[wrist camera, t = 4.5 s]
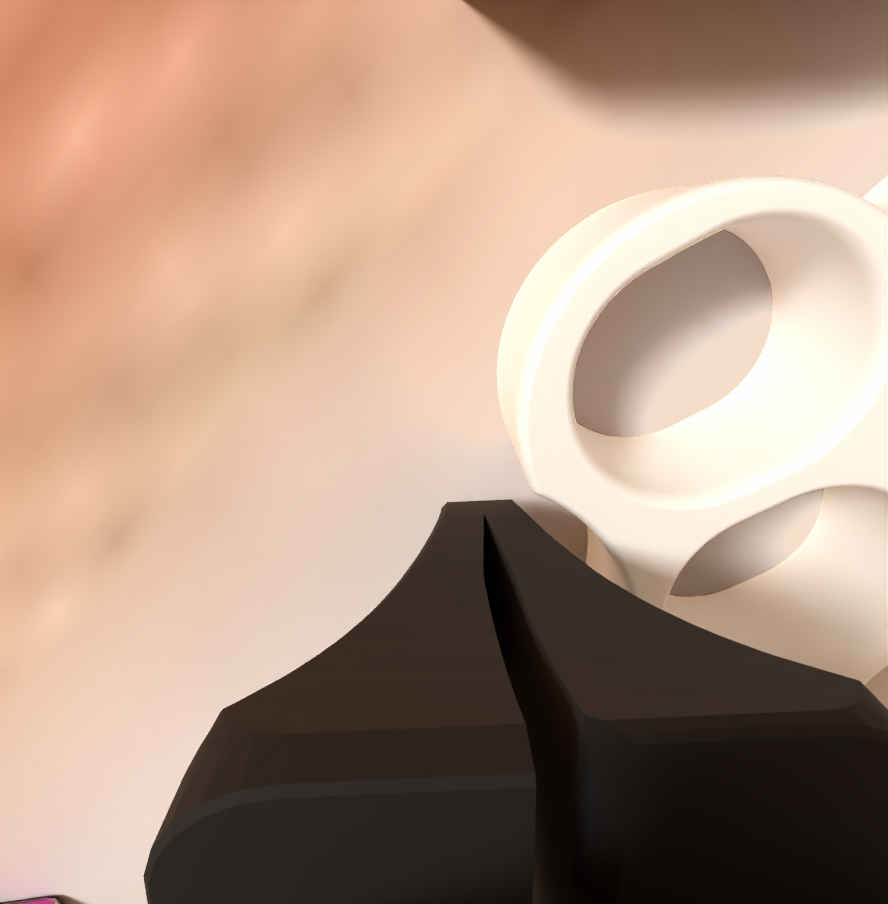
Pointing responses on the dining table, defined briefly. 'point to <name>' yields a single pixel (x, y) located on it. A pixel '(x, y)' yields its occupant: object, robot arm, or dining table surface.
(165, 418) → the dining table surface
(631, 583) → the white brass knuckles
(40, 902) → the candy bar box
